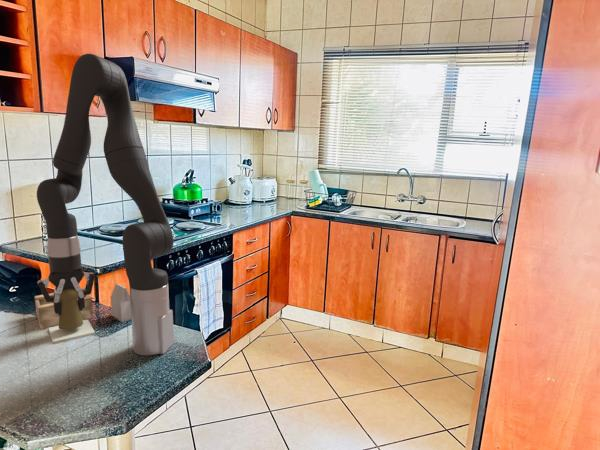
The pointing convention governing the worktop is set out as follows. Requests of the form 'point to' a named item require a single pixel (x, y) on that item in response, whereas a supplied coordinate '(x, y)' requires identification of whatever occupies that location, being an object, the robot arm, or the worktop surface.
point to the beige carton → (120, 303)
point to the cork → (69, 310)
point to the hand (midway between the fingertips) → (70, 311)
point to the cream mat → (71, 332)
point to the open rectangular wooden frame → (49, 316)
